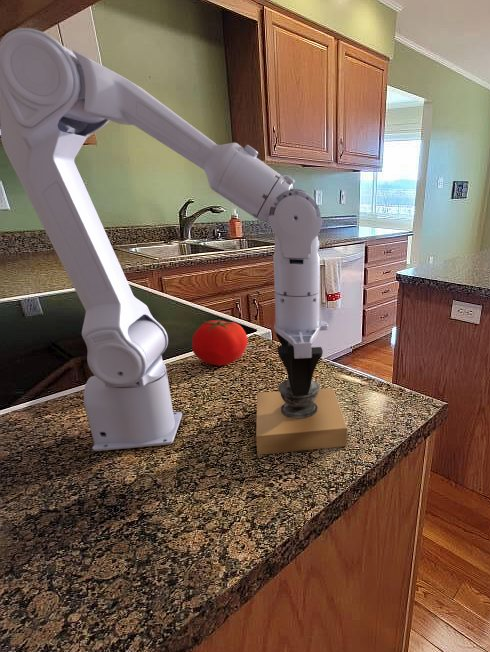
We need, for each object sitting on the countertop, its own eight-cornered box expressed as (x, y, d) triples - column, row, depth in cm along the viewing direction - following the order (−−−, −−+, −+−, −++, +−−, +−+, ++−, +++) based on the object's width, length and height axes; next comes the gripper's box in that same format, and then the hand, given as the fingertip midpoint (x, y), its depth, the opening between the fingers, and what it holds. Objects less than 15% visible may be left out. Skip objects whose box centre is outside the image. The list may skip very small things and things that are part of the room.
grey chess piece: (312, 422, 55) (312, 341, 50) (272, 416, 56) (268, 335, 51) (324, 402, 60) (325, 327, 55) (288, 396, 61) (286, 322, 56)
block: (257, 455, 52) (256, 436, 51) (258, 409, 63) (257, 392, 62) (346, 446, 55) (347, 427, 54) (332, 403, 66) (333, 387, 64)
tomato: (188, 358, 79) (183, 318, 76) (238, 348, 85) (235, 311, 82) (203, 375, 72) (197, 332, 69) (256, 364, 78) (253, 323, 75)
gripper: (337, 306, 45) (335, 409, 51) (320, 279, 58) (320, 363, 64) (274, 307, 44) (278, 413, 49) (271, 279, 57) (275, 365, 62)
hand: (298, 385), depth 56 cm, fingers open, 5 cm apart
